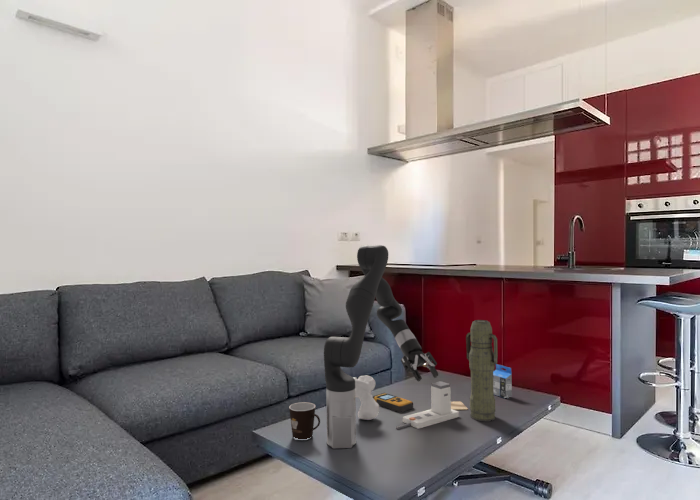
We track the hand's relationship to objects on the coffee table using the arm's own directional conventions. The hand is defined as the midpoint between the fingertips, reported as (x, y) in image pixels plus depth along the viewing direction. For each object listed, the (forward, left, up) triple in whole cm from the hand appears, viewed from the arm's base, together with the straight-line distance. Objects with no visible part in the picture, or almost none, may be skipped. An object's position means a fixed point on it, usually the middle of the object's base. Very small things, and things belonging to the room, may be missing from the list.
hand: (428, 378), depth 169 cm
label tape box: (+16, -35, -13) cm, 41 cm away
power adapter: (-5, -3, -13) cm, 14 cm away
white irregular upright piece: (-5, +25, -13) cm, 29 cm away
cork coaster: (+5, -11, -12) cm, 17 cm away
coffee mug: (-21, +46, -13) cm, 53 cm away
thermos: (-7, -18, -13) cm, 23 cm away
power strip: (-10, +4, -12) cm, 16 cm away
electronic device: (+8, +12, -13) cm, 20 cm away
